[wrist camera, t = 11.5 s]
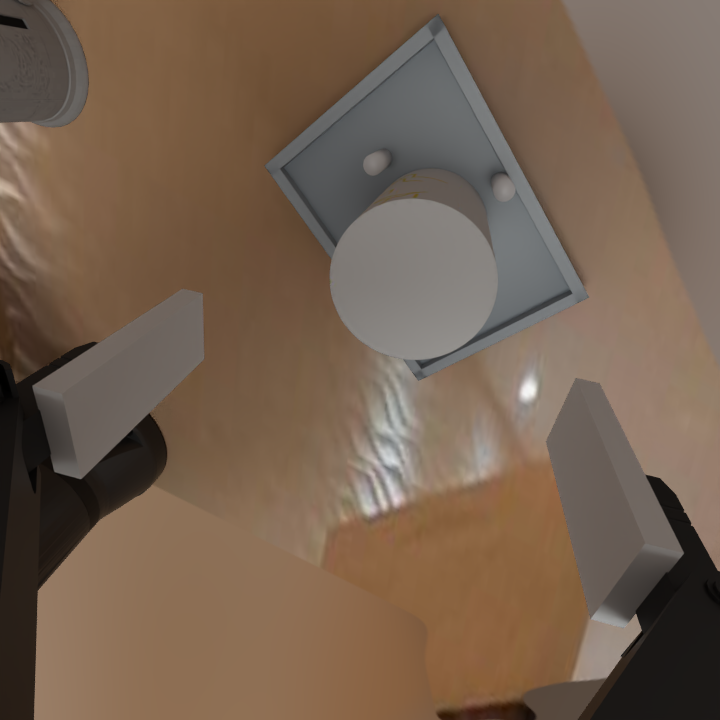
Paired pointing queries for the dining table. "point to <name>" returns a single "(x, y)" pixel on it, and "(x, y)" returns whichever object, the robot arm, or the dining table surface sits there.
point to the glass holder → (40, 65)
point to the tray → (421, 151)
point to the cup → (417, 267)
